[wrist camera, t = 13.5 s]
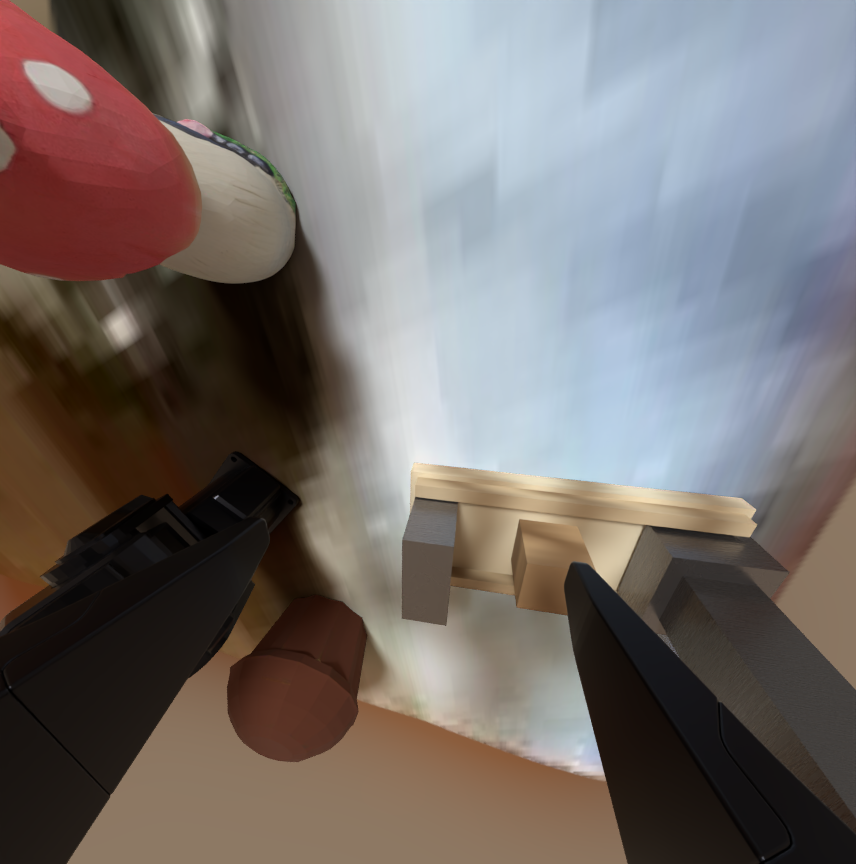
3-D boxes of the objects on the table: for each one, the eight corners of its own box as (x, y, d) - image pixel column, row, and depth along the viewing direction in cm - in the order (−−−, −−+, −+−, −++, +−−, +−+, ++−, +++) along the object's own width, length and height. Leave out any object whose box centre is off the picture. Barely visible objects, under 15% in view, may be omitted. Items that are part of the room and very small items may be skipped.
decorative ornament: (340, 208, 17) (-180, -92, 4) (299, 316, 20) (-79, 377, 6) (181, 99, 16) (-1376, -892, 3) (162, 229, 19) (-634, 82, 5)
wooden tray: (411, 561, 27) (406, 582, 25) (414, 462, 23) (408, 479, 21) (683, 600, 25) (701, 627, 23) (741, 498, 21) (769, 520, 19)
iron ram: (617, 590, 23) (756, 891, 12) (647, 522, 21) (867, 826, 9) (704, 603, 23) (943, 935, 11) (747, 534, 20) (1127, 880, 8)
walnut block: (510, 559, 24) (516, 607, 20) (519, 519, 22) (527, 563, 19) (564, 567, 24) (580, 617, 20) (577, 526, 22) (597, 572, 18)
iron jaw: (415, 560, 26) (401, 618, 21) (417, 489, 23) (402, 539, 18) (451, 565, 25) (446, 625, 21) (458, 494, 22) (453, 547, 18)
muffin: (398, 622, 31) (366, 757, 22) (354, 670, 36) (314, 797, 27) (291, 567, 30) (212, 686, 21) (261, 624, 35) (185, 741, 26)
